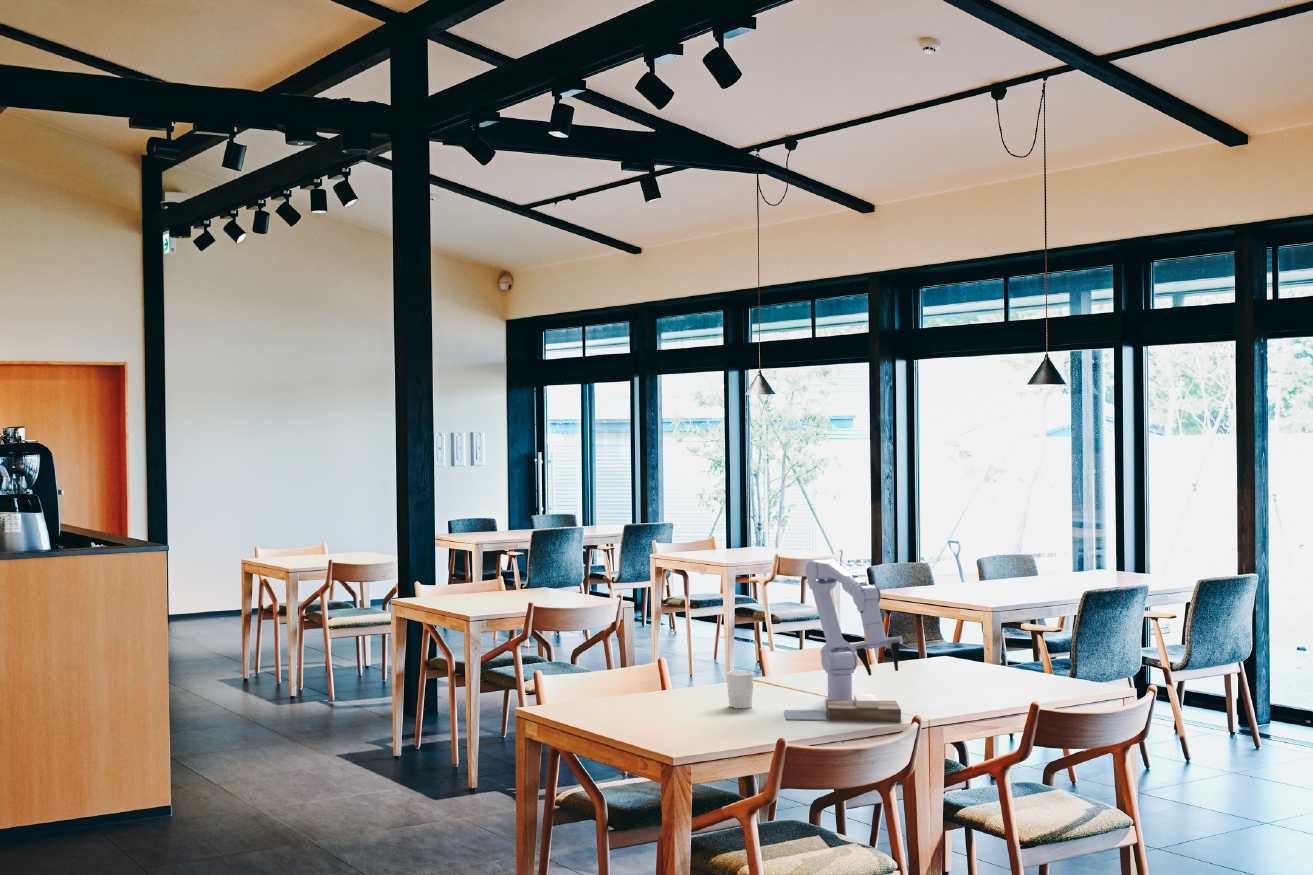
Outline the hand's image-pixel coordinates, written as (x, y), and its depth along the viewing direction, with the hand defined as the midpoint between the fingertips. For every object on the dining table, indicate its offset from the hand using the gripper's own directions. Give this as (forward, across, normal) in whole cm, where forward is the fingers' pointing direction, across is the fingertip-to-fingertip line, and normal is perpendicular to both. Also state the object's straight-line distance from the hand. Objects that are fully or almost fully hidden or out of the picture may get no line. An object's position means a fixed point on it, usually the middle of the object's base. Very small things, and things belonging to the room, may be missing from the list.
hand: (883, 672), depth 330 cm
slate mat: (+8, -24, +5) cm, 26 cm away
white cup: (+1, -42, +16) cm, 45 cm away
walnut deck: (+10, -8, +6) cm, 14 cm away
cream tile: (+7, -6, +4) cm, 11 cm away
